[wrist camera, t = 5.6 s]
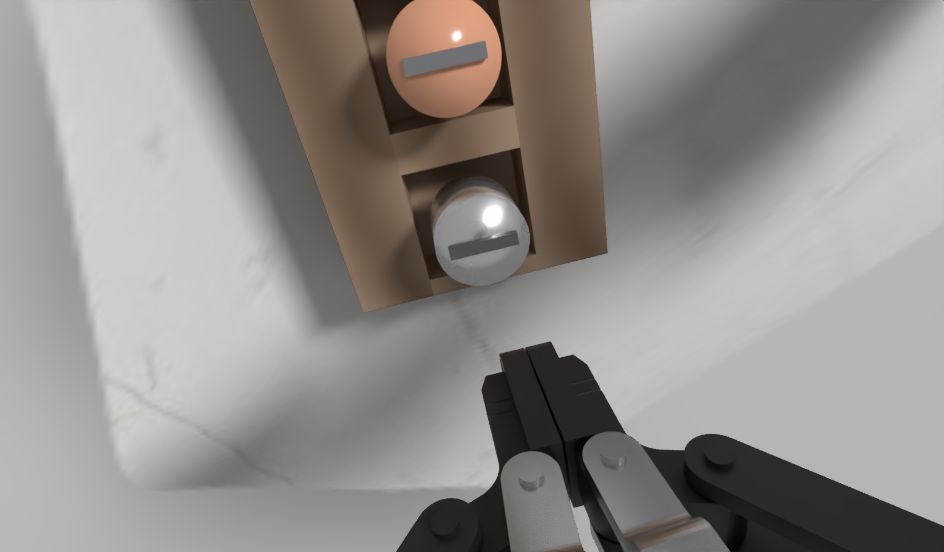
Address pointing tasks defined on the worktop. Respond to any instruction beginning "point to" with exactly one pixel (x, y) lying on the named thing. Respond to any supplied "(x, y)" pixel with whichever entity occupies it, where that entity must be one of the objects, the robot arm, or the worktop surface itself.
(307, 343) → the worktop surface
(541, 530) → the robot arm
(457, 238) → the metal knob
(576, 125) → the console
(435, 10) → the terracotta knob
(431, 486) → the worktop surface
